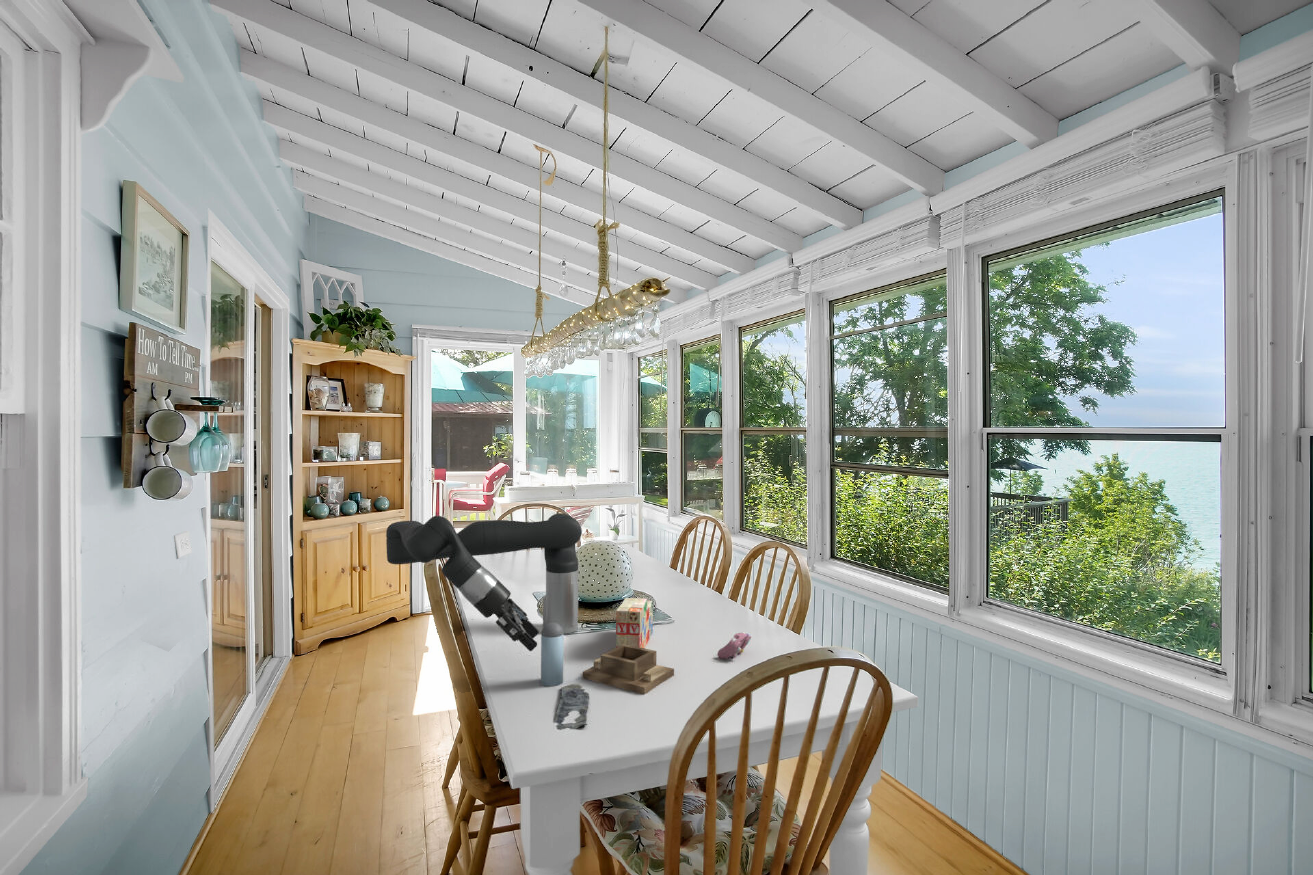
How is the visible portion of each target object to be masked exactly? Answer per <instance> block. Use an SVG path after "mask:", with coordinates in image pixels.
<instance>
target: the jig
mask: <svg viewBox="0 0 1313 875" xmlns="http://www.w3.org/2000/svg"><path fill="white" fill-rule="evenodd" d="M674 676H675V668H674V667H668V666H664V665H659V664H657V650H652V649H650V648H649V649H647V648H645V649H644V648H640V647H635V646H631V645H626V644H622V645H620V646H618V647H616V646H615V648H613V649H611V650H609V651H606V652H605V653H602V654H601V655H600V657H599V658H597V659H595V660H593V665H592V667H590V668H587V669H585V670H584V671H582V679H584V680H588V681H592V682H595V683H598V684H599V683H600V684H603V685H608V686H611V687H614V686H615V688H619V689H622V688H623V690H626V691H630V692H633V693H636V694H637V693H638V694H641V695H646V694H648V692H651V691H652V690H653V689H655V688H657V687H658V686H660V685H661V684H663V683H665V682H666V681H667V680H668V679H671V678H672V677H674ZM656 686H657V687H656Z"/></svg>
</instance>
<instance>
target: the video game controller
mask: <svg viewBox="0 0 1313 875" xmlns="http://www.w3.org/2000/svg"><path fill="white" fill-rule="evenodd" d="M751 639H752V636H751V635H750V634H748V633H746V632H744V631H742V632H738V633H735V634H734V635H733V637H732V638H731V639H730V641H729V642H728V643H727V644H726V645H725V646H723V647H721V648H720V649H719V650H717V657H718V659H722V660H723V659H728V658H729V657H732V658H733V659H734V658H735V657H737V655H740V654H741V653H744V649H745V648H746V647H747V645H748V644H749V643H750V640H751Z"/></svg>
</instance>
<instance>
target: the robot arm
mask: <svg viewBox="0 0 1313 875" xmlns="http://www.w3.org/2000/svg"><path fill="white" fill-rule="evenodd" d="M582 532H583V529H582V526H581V524H580V522H578V520H577V519H576V518H574V517H573V516H570V515H569V514H566V513H562V512H559V513H554V514H552V515H551V516H549V518H547V519H546V520H541V521H539V520H538V521H518V520H509V519H506V520H504V519H498V520H497V519H494V520H493V519H491V520H480V521H475V522H472V523H469V524H468V525H467V526H465V527H464V528H462V529H461V530H460V531H458V532H456V529H455V527H454V525H453V524H452V523H451V521H450V520H449V519H447V518H446V517H444V516H442V515H435V516H432V517H430V518H429V519H428V520H427V521H426V522H425V523H422V522H420V521H418V520H417V521H416V520H402V521H396V522H391V524H389V525H388V526H387V528H386V532H385V538H386V539H385V540H386V543H385V544H386V559H387V563H389V564H392V565H407V564H408V565H409V564H415V563H417V564H418V563H423V564H428V563H430V562H431V561H436V560H442V559H446V560H447V561H446V562H445V563H444V565H443V566H442V569H441V573H442V574H443V576H444V577H445V578H446V579H447V580H448V581H449V582H450V583H451V584H452V585H454V587H456V589H457V590H458V591H459V592H460V593H461V595H462V596H463V597H464V598H465V599H466V600H467V601H468V602H469V604H471V605H472V606H473V607H474V609H476V610H477V611H478V612H479V613H480V614H481V615H482V616H483V617H484V618H485V619H487V618H490V617H492V615H495V616H496V618H498V619H497V620H495V623H496V625H497V626H498V627H499V628H500V629H501V630H502V631H503V632H504V633H505V634H506V635H507V636H508V637H509V638H510V639H511V640H512V642H516V641H519V642H520V643H521V644H522V645H523V646H524V647H525V649H527V650H528V651H529V652H532V651H533V650H534V649H535V648H536V647H537V646H538V642H537V641H536V640H535V639H534V638H535V637H536V636H537V635H539V629H538V628H537V627H536V626H535V625H534V624H533V623H532V622H531V621H530V619H529V617H528V614H527V612H525V611H524V610H523V609H522V608H521V607H520V606H519V605H517V603H516V602H515V601H514V600H513V599H512V598H510V597H511V594H512V593H511V591H510V590H509V589H508V588H507V587H506V586H505V585H504V584H503V582H501V581H500V580H499V579H498V578H497V577H496V576H494V574H493V573H491V571H489V570H488V569H487V568H485V567H484V566H483V565H482V564H481V563H480V562H479V561H478V560H477V559H476V558H475V557H474V556H487V555H488V556H489V555H498V554H503V553H504V554H505V553H510V552H520V551H523V550H530V549H544V550H543V551H544V553H543V554H544V555H543V556H544V561H545V562H544V563H545V595H543V597H542V629H543V628H544V626H545V625H547V624H549V623H557V624H559V625H560V626H561V627H562V629H563V635H564V634H571V633H575V632H577V630H578V629H579V560H578V557H577V551H576V545H577V543H578V542H579V541H580V540H581V537H582V534H583V533H582Z"/></svg>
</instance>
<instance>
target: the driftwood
mask: <svg viewBox="0 0 1313 875" xmlns="http://www.w3.org/2000/svg"><path fill="white" fill-rule="evenodd" d="M559 700H560V701H559V702H558V703H559V704H558V707H557V710H556V716H555V719H554V721H553V723H554V724H556V726H555V728H556V730H565V729H569V730H575V729H578V728H579V727H581V726H587V725H588V724H587V719H588V718H587V717H588V715H587V714H588V713H587V712H588V710H589V703H590V702H589V700H590V695H589V692H587V691H586V689H585V688H583V685H580V684H578V683H577V684H576V683H573V684H567V685H565V686H564V685H563V686H561V697H560V698H559ZM574 711H576V712H578V713H579V714H580V715H579V716H577V717H576V718H575V719H573V720H574V722H575V723H574V722H567V723H563V722H564V721H565V718H566V717H569V716H570V713H572V712H574Z"/></svg>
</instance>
